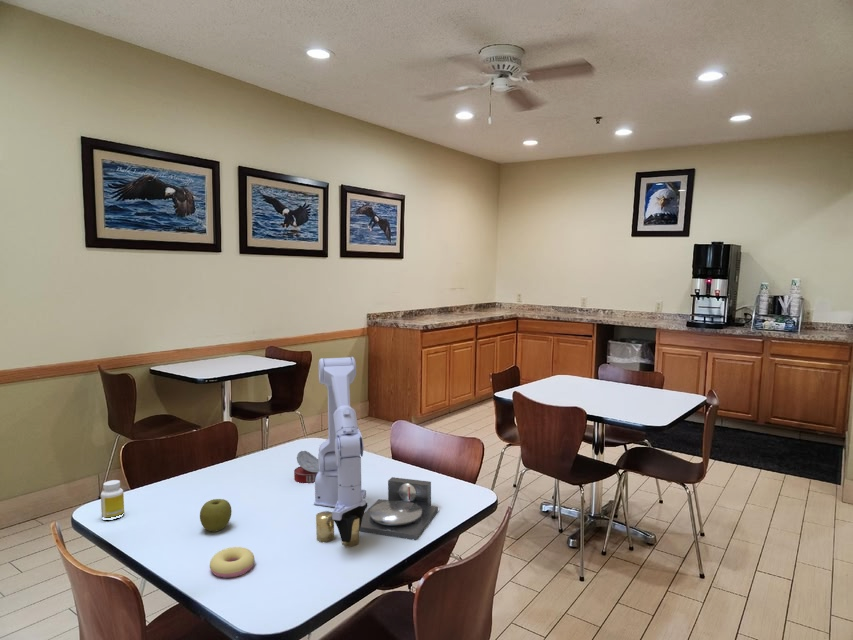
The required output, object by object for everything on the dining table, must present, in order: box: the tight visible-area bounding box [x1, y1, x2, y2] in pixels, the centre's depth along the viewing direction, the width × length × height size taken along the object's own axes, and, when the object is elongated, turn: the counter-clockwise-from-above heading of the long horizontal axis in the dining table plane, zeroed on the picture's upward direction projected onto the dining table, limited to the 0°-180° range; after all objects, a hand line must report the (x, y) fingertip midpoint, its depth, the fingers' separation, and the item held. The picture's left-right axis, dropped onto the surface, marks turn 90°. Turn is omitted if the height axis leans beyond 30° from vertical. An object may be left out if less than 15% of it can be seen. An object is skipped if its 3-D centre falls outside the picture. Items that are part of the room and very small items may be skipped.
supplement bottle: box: [100, 479, 125, 518], centre depth 149 cm, size 5×5×10 cm
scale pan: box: [370, 501, 422, 525], centre depth 146 cm, size 14×14×1 cm
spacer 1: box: [315, 510, 335, 543], centre depth 136 cm, size 4×4×6 cm
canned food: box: [293, 450, 319, 484], centre depth 179 cm, size 11×10×10 cm
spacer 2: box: [341, 516, 361, 548], centre depth 134 cm, size 4×4×6 cm
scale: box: [360, 476, 439, 541], centre depth 148 cm, size 18×21×7 cm
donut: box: [209, 546, 255, 579], centre depth 123 cm, size 10×5×9 cm
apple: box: [199, 498, 233, 533], centre depth 142 cm, size 8×8×7 cm
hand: (350, 536), depth 134 cm, fingers closed on spacer 2, 4 cm apart
